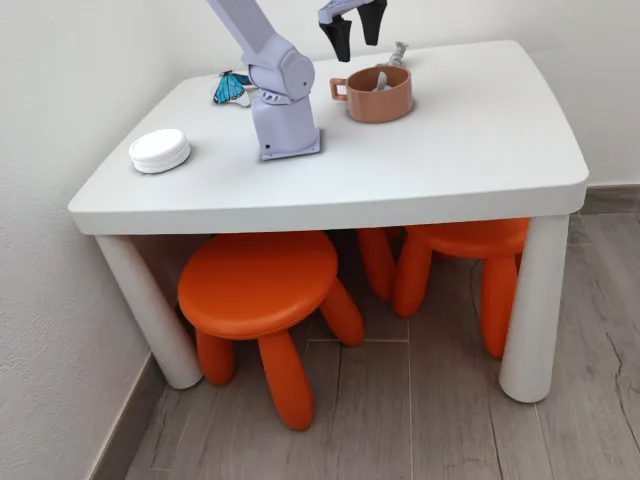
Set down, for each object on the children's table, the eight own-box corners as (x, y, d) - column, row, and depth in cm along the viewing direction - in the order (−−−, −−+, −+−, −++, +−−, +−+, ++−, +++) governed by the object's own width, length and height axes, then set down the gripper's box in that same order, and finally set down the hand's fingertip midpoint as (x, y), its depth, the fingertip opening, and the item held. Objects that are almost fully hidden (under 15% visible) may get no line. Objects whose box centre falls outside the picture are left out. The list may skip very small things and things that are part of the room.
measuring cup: (422, 96, 91) (420, 66, 88) (397, 125, 84) (394, 94, 81) (347, 90, 99) (343, 63, 95) (318, 117, 92) (313, 88, 88)
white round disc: (186, 139, 94) (180, 122, 92) (195, 162, 86) (188, 144, 84) (133, 156, 92) (126, 139, 90) (137, 181, 84) (129, 163, 82)
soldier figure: (365, 86, 101) (376, 46, 107) (385, 99, 103) (395, 58, 108) (388, 62, 95) (398, 21, 100) (409, 76, 96) (418, 35, 102)
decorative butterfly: (218, 68, 109) (255, 54, 104) (232, 95, 112) (269, 83, 107) (195, 88, 102) (234, 74, 97) (211, 116, 105) (250, 105, 100)
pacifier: (357, 117, 88) (391, 115, 87) (351, 83, 84) (387, 80, 83) (363, 99, 94) (396, 96, 92) (358, 66, 90) (392, 62, 88)
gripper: (337, -20, 72) (349, 72, 81) (396, -47, 80) (402, 40, 88) (302, -21, 77) (317, 66, 85) (361, -47, 84) (370, 36, 92)
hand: (358, 52), depth 87 cm, fingers open, 7 cm apart
